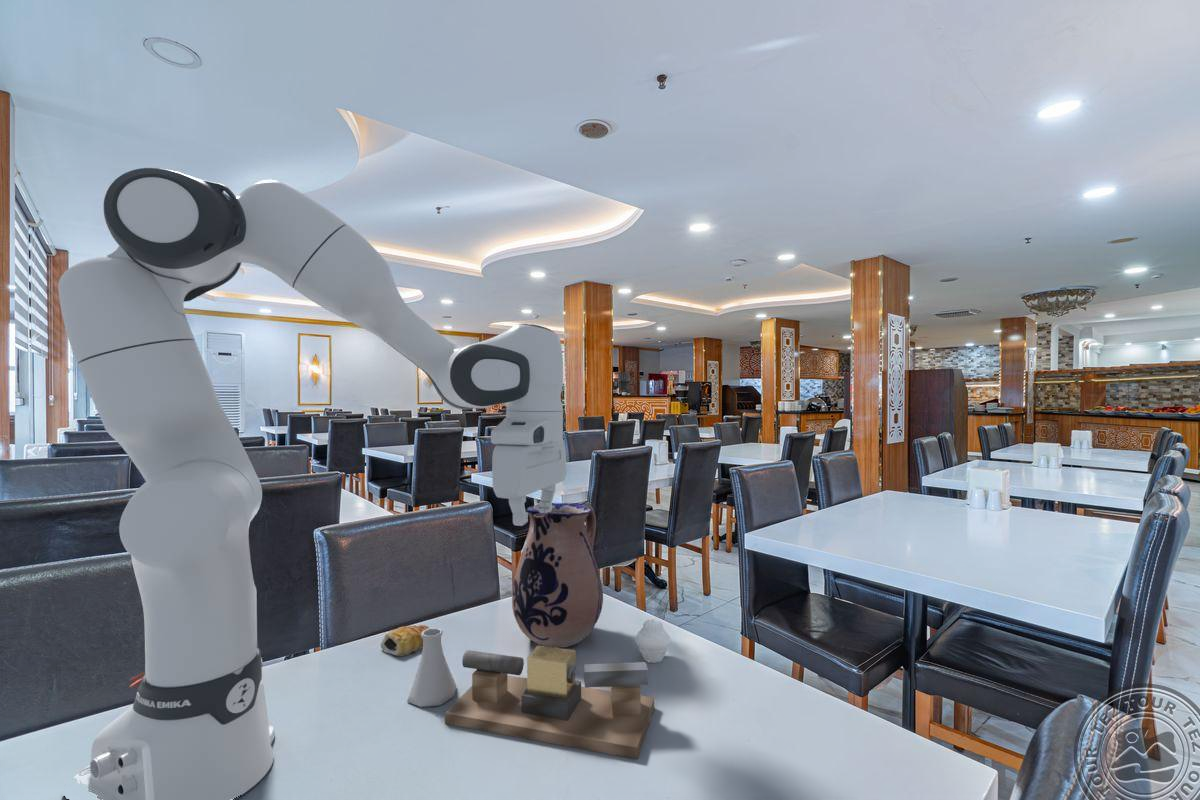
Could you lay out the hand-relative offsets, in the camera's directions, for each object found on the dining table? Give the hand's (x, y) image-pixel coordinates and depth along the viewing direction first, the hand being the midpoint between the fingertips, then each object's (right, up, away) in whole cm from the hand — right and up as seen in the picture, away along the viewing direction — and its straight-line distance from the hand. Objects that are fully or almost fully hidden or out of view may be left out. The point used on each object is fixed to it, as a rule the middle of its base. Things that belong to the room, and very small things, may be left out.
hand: (533, 518), depth 85 cm
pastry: (-26, -28, +17) cm, 42 cm away
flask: (-16, -28, 0) cm, 32 cm away
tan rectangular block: (+3, -24, -6) cm, 25 cm away
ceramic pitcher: (+3, -28, +22) cm, 35 cm away
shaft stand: (+3, -28, -5) cm, 28 cm away
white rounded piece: (+20, -28, +12) cm, 36 cm away
